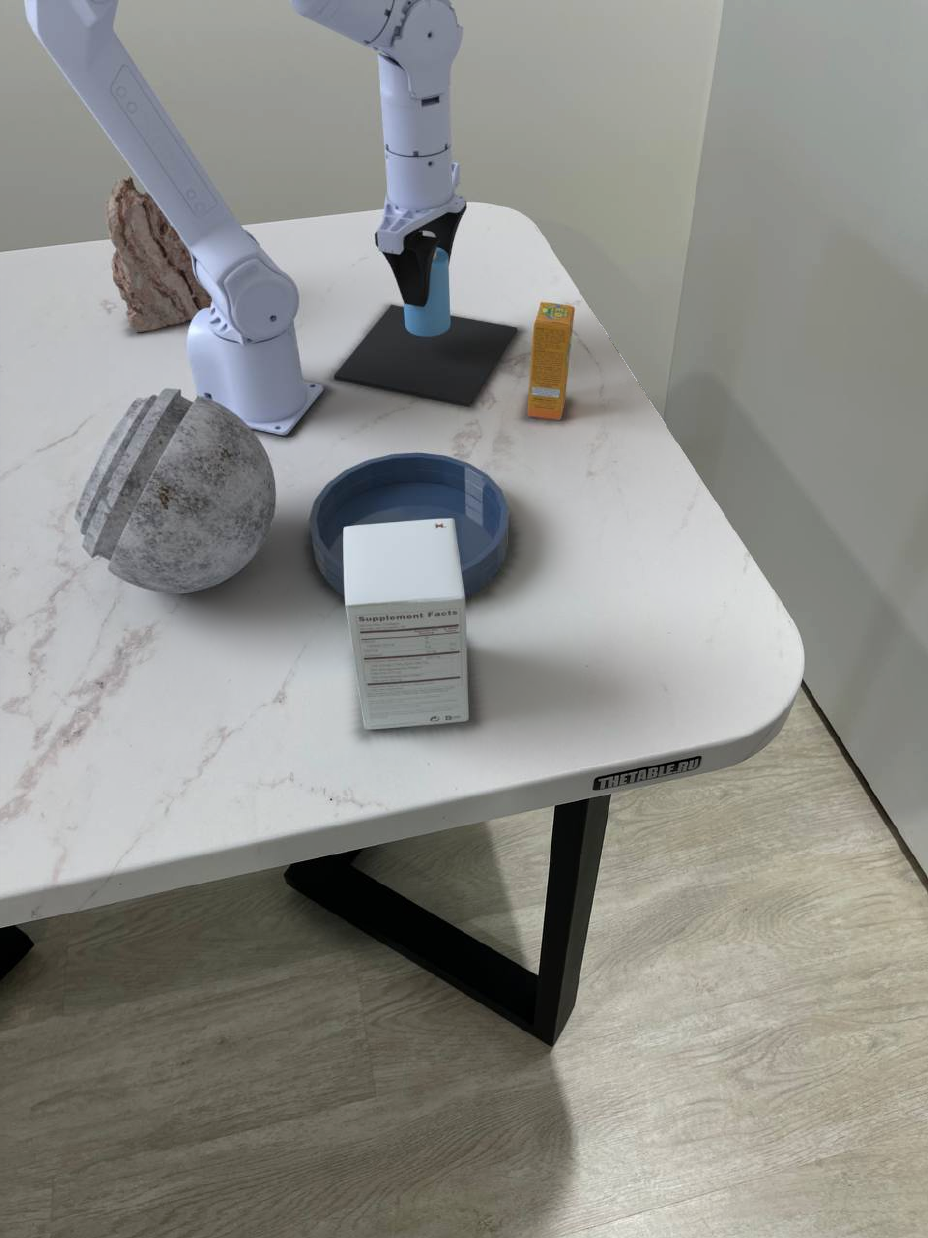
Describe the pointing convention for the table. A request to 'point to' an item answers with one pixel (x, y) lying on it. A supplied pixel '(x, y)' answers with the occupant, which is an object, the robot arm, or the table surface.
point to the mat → (428, 358)
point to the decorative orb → (178, 495)
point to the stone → (150, 262)
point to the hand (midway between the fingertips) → (425, 290)
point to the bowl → (414, 510)
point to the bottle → (432, 300)
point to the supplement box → (550, 360)
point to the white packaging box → (407, 622)
